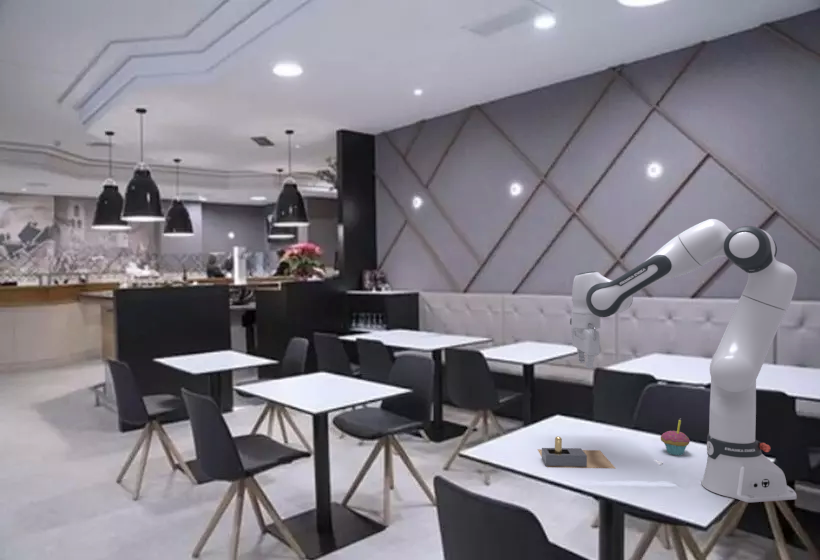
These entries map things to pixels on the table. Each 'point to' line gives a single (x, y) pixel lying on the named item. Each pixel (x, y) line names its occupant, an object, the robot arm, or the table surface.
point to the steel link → (564, 457)
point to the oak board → (592, 460)
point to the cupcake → (675, 441)
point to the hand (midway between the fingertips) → (585, 365)
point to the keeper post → (558, 445)
